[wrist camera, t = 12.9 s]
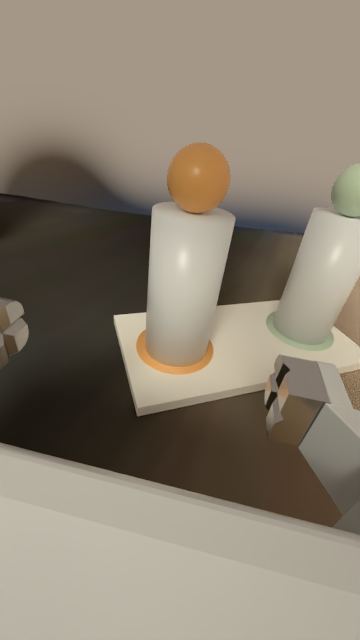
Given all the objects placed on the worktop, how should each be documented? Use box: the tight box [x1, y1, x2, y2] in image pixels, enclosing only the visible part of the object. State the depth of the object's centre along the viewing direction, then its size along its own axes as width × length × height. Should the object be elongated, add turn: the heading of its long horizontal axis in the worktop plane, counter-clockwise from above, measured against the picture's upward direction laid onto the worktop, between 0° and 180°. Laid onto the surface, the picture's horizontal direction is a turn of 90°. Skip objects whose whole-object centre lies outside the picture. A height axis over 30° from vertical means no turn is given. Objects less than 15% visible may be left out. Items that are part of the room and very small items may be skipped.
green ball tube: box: [273, 163, 360, 345], centre depth 22 cm, size 5×5×13 cm
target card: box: [114, 300, 360, 417], centre depth 24 cm, size 10×20×1 cm, turn 109°
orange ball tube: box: [145, 143, 235, 367], centre depth 18 cm, size 5×5×13 cm
